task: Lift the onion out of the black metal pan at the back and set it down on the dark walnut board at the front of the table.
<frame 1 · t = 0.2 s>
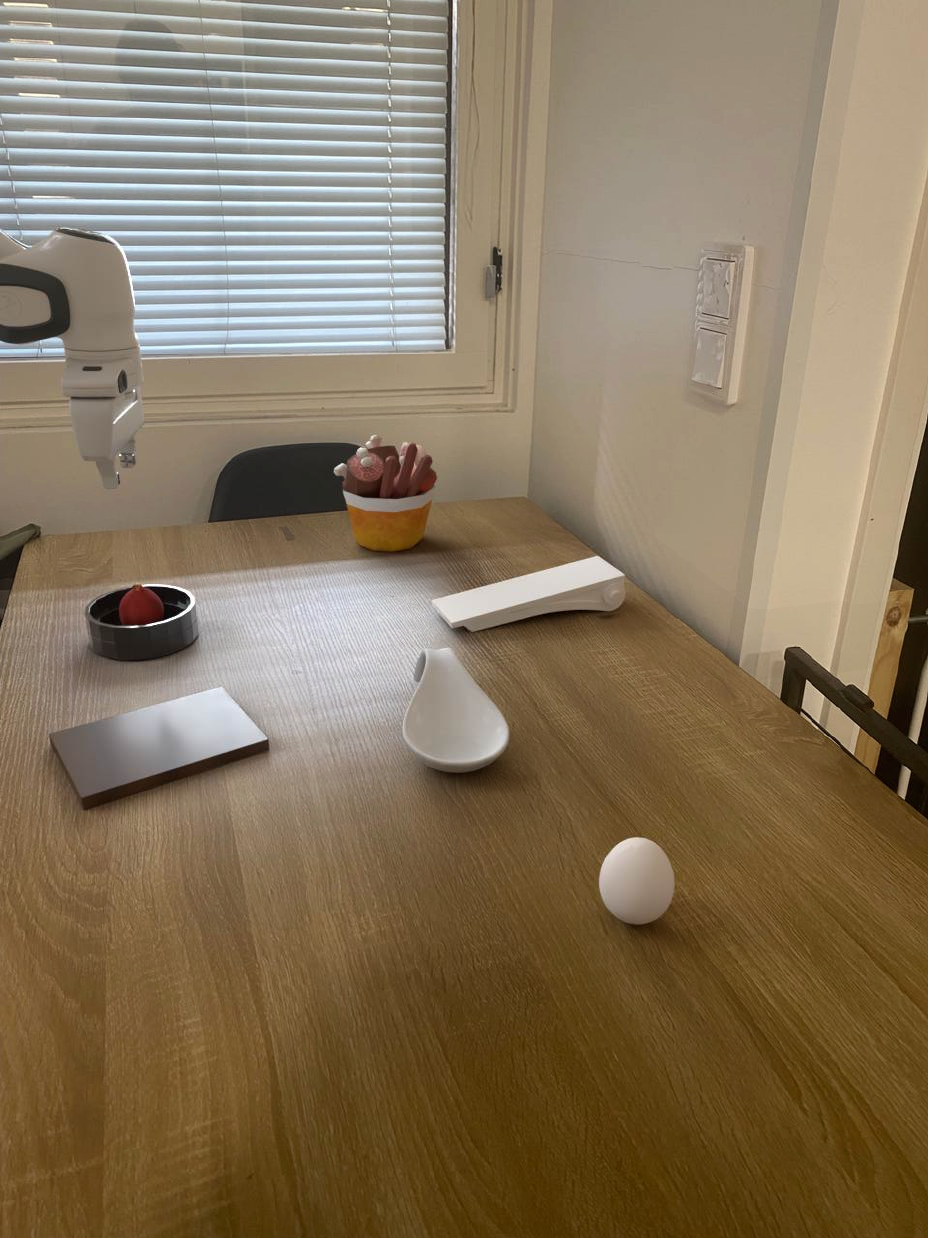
hand: (120, 476, 120), 22 cm above the table, tool pointing down, fingers open, 8 cm apart
onion: (145, 637, 126), resting on pan
board: (160, 747, 102), on the table
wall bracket: (528, 612, 137), on the table
egg: (631, 917, 80), on the table
pan: (145, 637, 126), on the table
spoon rest: (445, 731, 106), on the table
bucket of meat: (389, 543, 162), on the table
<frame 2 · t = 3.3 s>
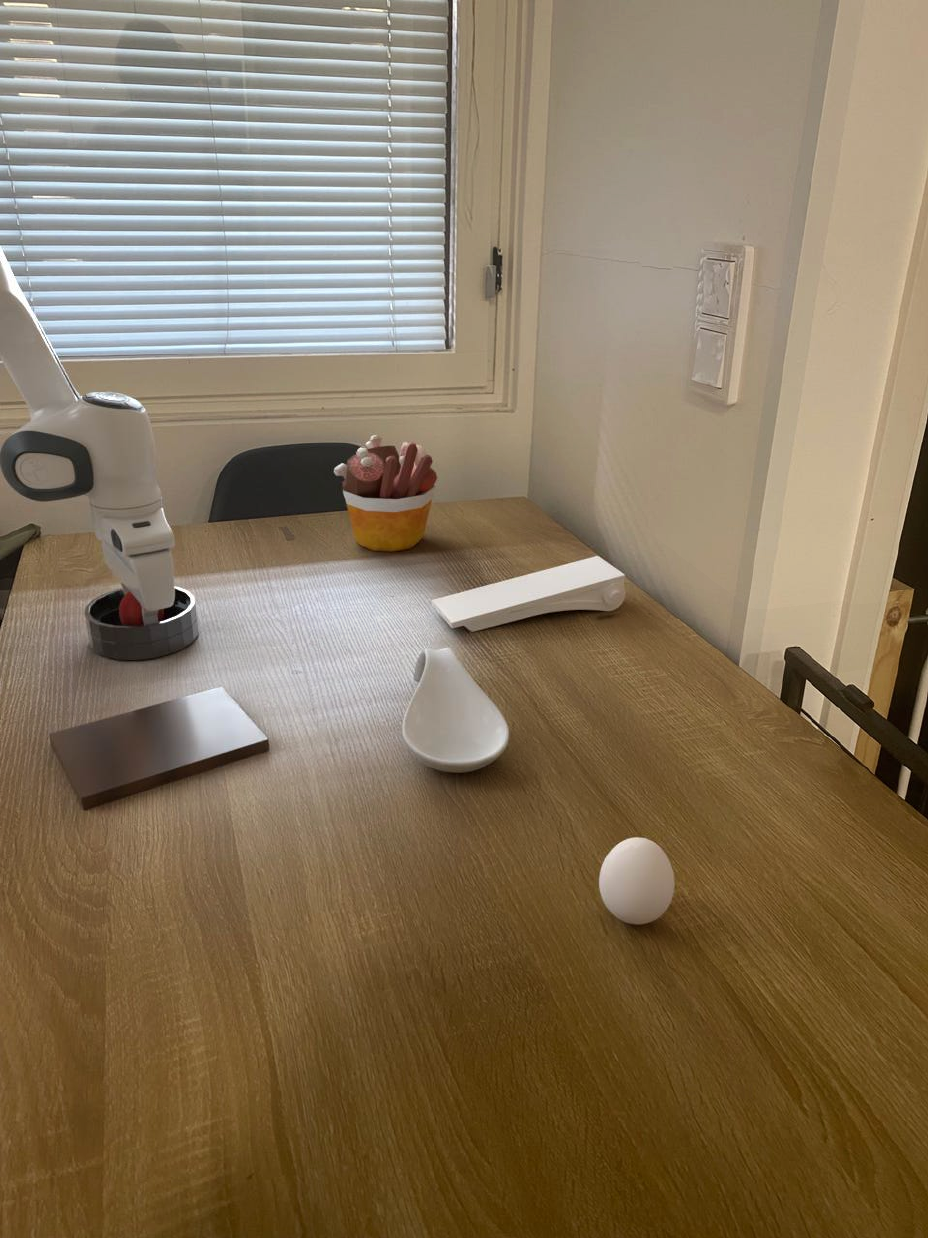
hand: (142, 616, 124), 3 cm above the table, tool pointing down, fingers closed on onion, 6 cm apart
onion: (145, 637, 126), resting on pan, touching gripper
everything else where it was.
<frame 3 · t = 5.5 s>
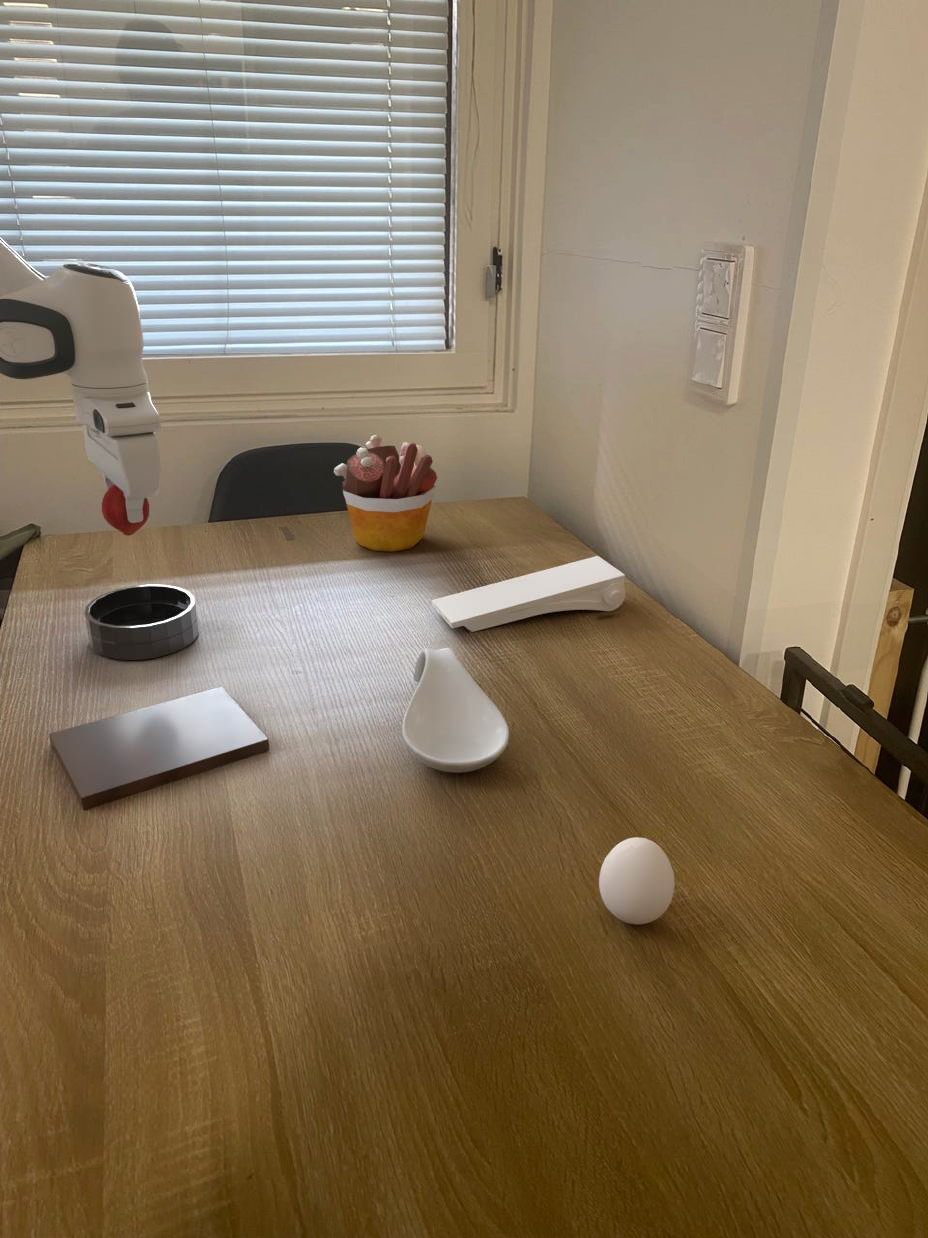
hand: (126, 512, 117), 18 cm above the table, tool pointing down, fingers closed on onion, 6 cm apart
onion: (129, 536, 119), point 15 cm above the table, touching gripper
everything else where it was.
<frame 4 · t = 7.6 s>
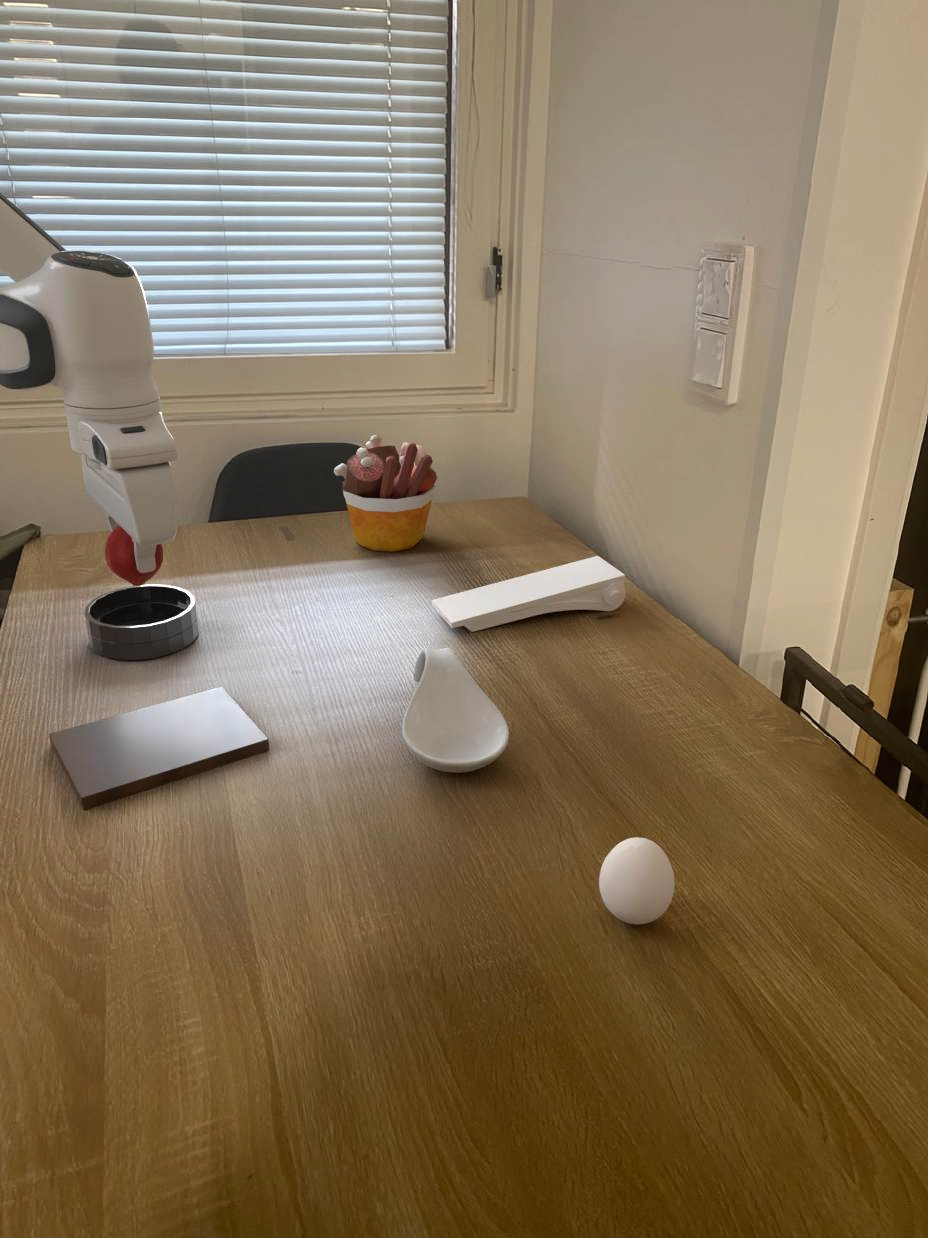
hand: (134, 559, 96), 21 cm above the table, tool pointing down, fingers closed on onion, 6 cm apart
onion: (139, 586, 97), point 18 cm above the table, touching gripper
everything else where it was.
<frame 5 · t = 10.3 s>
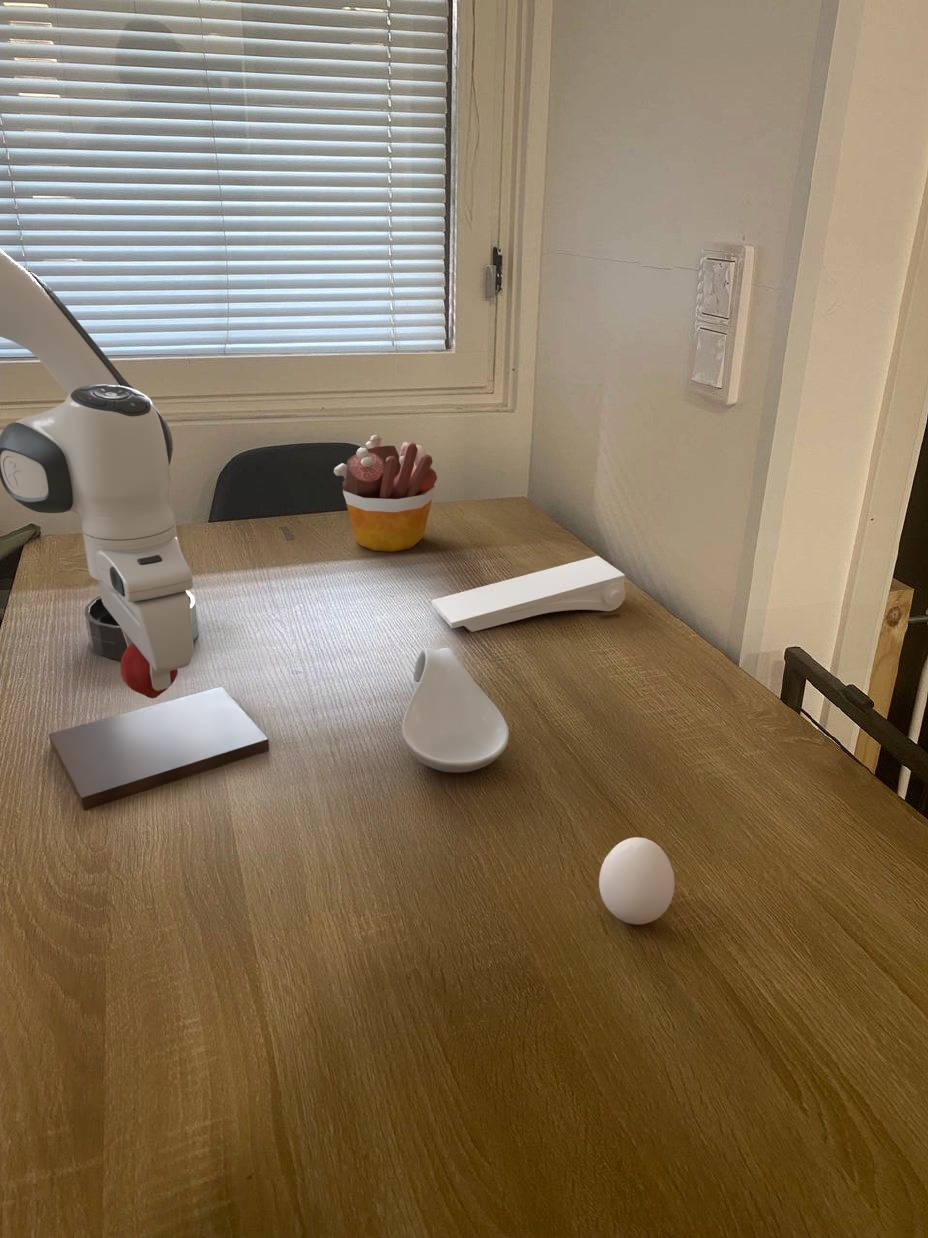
hand: (149, 672, 97), 9 cm above the table, tool pointing down, fingers closed on onion, 6 cm apart
onion: (153, 698, 99), point 6 cm above the table, touching gripper
everything else where it was.
when the fingers open (4 cm above the table, at t = 12.1 s): onion stays where it is, resting on board.
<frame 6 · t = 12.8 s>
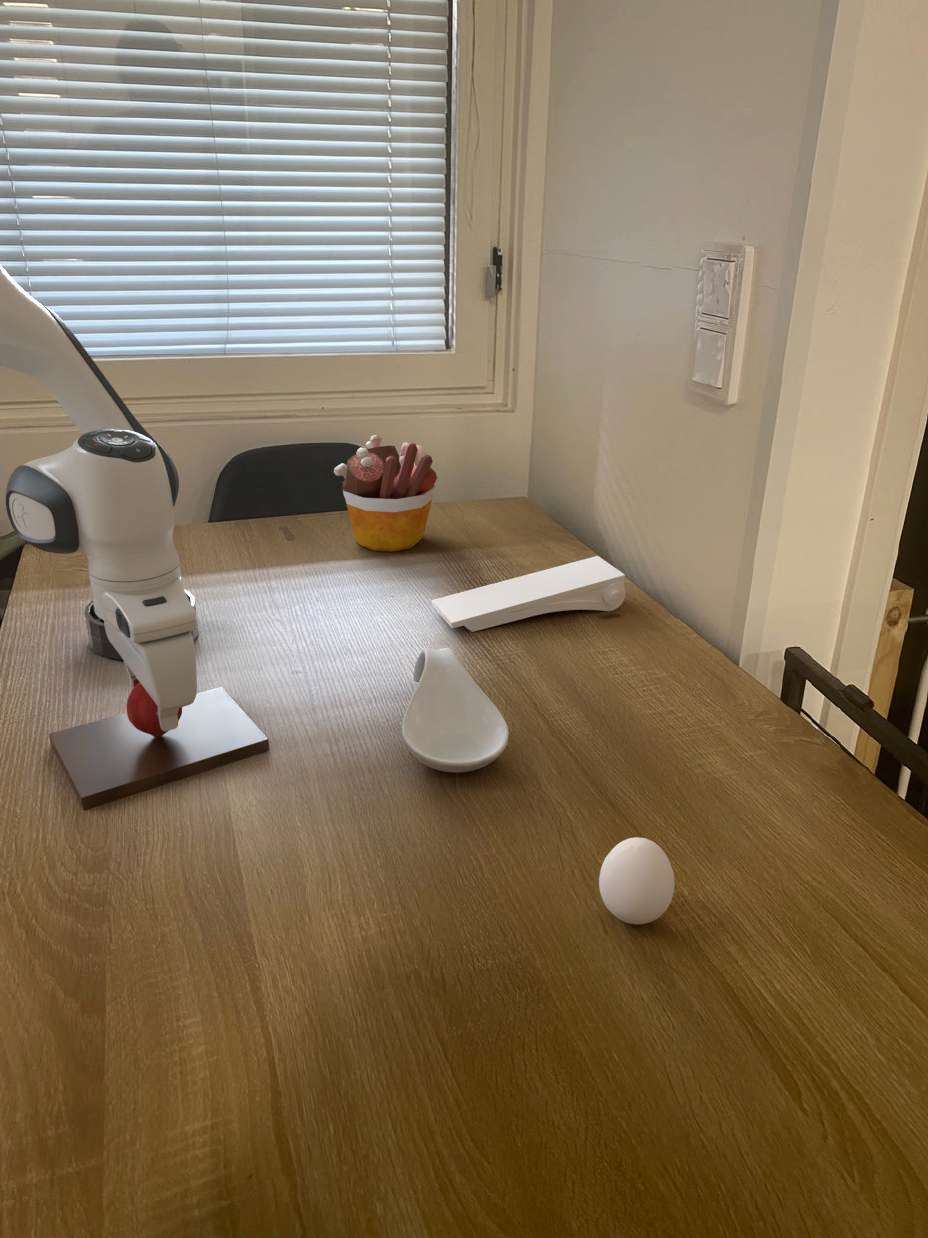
hand: (154, 707, 99), 5 cm above the table, tool pointing down, fingers open, 8 cm apart
onion: (159, 737, 101), point 1 cm above the table, touching board
everything else where it was.
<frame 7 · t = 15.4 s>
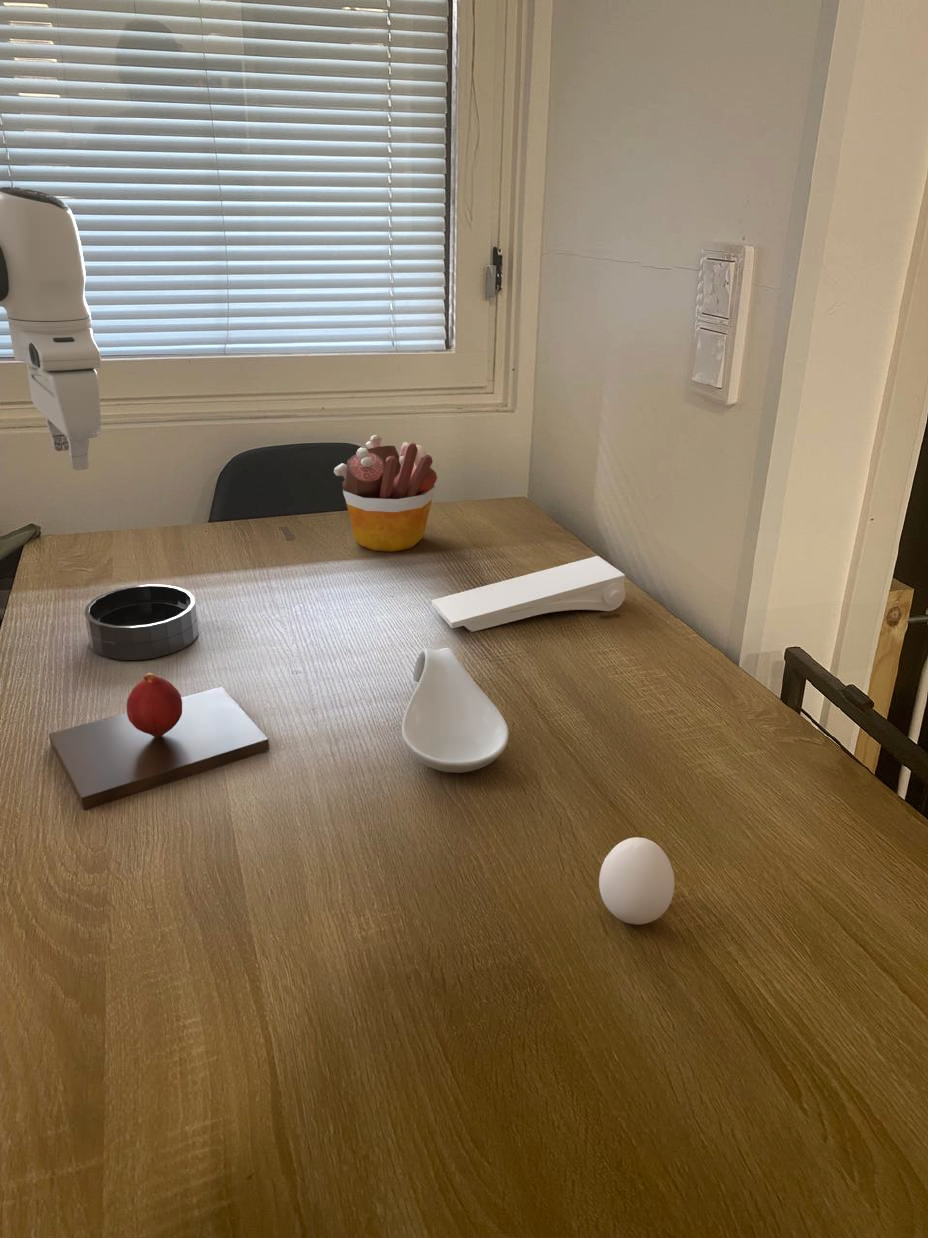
hand: (70, 458, 112), 26 cm above the table, tool pointing down, fingers open, 8 cm apart
nothing on the table moved.
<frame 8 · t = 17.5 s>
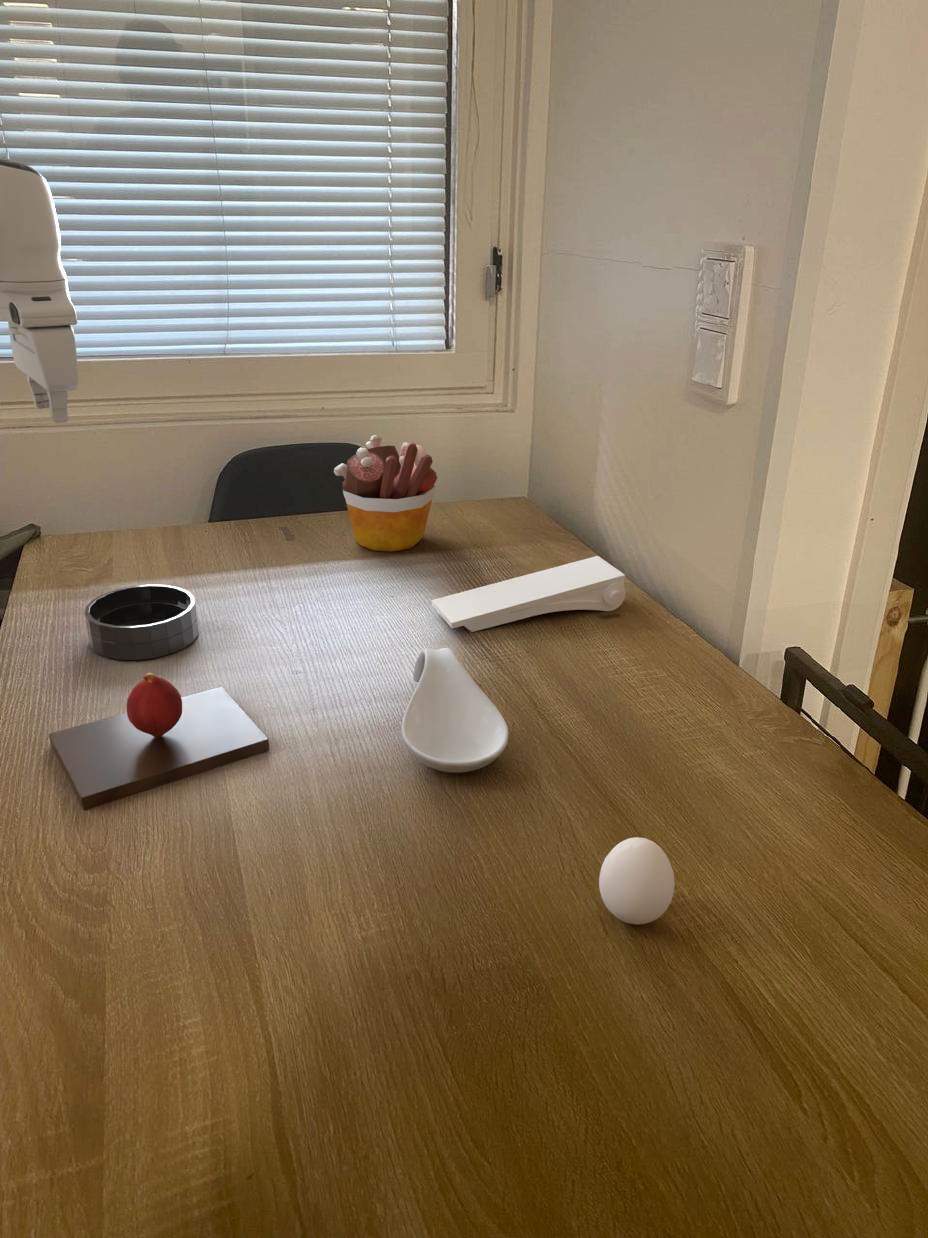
hand: (51, 414, 120), 29 cm above the table, tool pointing down, fingers open, 8 cm apart
nothing on the table moved.
at the end: onion inside the target area on the board (0.1 cm from its centre), point 1.3 cm above the board's base; the gripper is holding nothing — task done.
